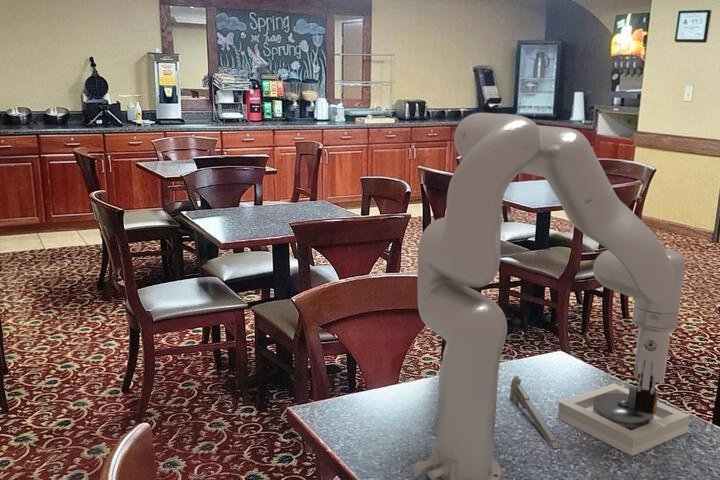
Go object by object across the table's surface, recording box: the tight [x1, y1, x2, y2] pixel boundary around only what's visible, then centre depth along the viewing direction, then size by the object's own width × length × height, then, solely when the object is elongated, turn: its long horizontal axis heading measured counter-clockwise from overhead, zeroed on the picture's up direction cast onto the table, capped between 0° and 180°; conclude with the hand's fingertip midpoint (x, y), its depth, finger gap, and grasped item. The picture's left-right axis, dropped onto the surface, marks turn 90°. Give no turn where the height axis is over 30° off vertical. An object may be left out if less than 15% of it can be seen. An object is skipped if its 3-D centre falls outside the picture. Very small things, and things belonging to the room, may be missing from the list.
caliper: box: [509, 375, 559, 449], centre depth 135 cm, size 20×1×6 cm, turn 11°
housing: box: [557, 382, 691, 457], centre depth 134 cm, size 17×17×4 cm
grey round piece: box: [593, 385, 659, 431], centre depth 134 cm, size 11×11×6 cm
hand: (643, 410), depth 129 cm, fingers closed
